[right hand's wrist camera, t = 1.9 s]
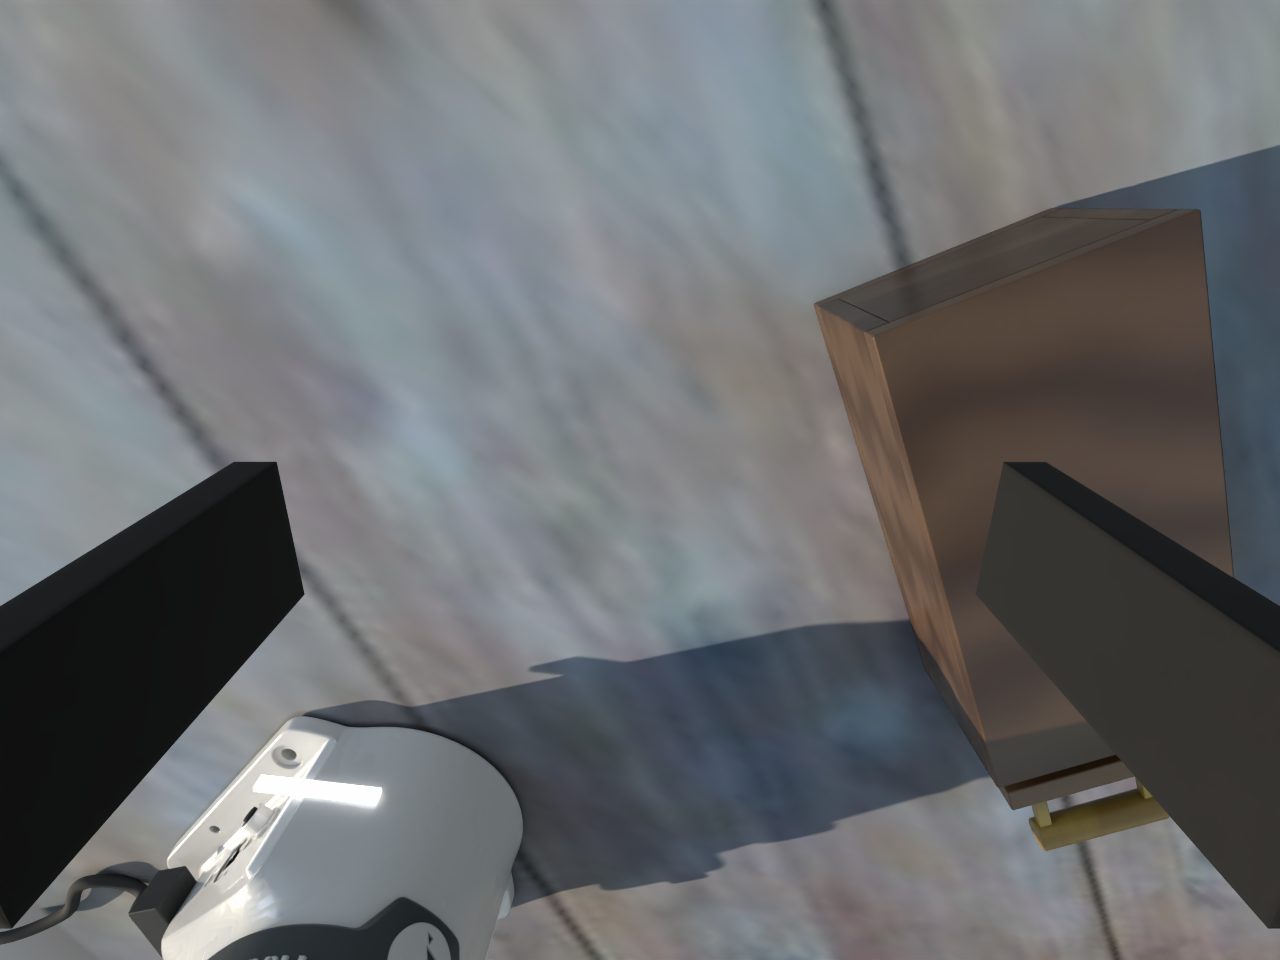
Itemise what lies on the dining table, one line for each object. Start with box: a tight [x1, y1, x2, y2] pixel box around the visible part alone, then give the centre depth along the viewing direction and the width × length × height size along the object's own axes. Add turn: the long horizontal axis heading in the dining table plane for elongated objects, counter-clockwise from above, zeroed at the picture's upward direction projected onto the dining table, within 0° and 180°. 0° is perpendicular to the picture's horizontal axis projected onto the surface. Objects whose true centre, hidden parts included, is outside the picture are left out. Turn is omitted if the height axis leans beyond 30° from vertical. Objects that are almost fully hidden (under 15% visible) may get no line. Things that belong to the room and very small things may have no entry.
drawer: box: [999, 755, 1169, 851], centre depth 31 cm, size 26×9×6 cm, turn 22°
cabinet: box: [814, 208, 1234, 788], centre depth 29 cm, size 21×10×8 cm, turn 22°
